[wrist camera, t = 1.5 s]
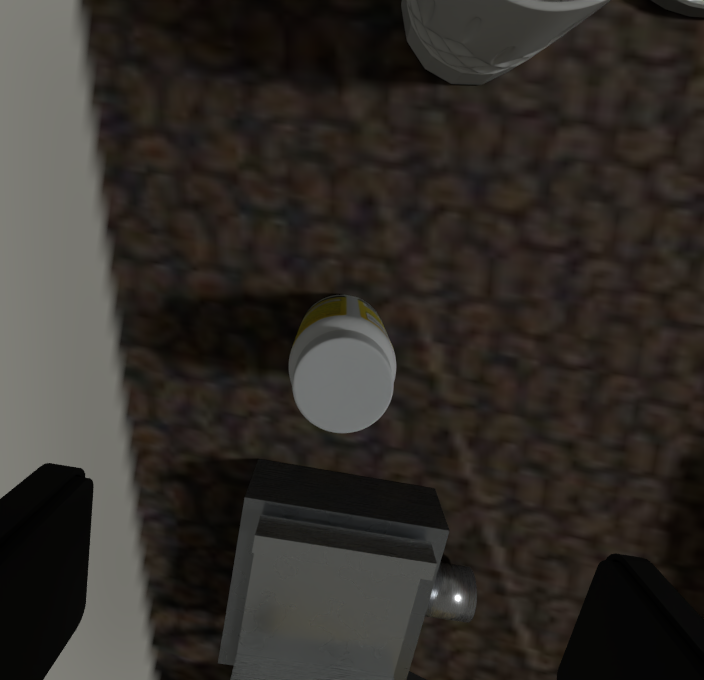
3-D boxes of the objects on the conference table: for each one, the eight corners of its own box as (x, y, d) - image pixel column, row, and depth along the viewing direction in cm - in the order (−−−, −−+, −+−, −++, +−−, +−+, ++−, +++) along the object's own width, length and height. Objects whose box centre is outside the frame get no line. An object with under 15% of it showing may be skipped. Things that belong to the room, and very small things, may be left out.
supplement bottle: (291, 363, 26) (268, 427, 18) (310, 284, 25) (295, 313, 17) (371, 383, 27) (384, 454, 19) (394, 306, 26) (418, 345, 17)
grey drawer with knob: (258, 458, 28) (235, 522, 22) (481, 496, 29) (517, 567, 23) (233, 607, 30) (207, 699, 24) (439, 637, 31) (461, 733, 25)
